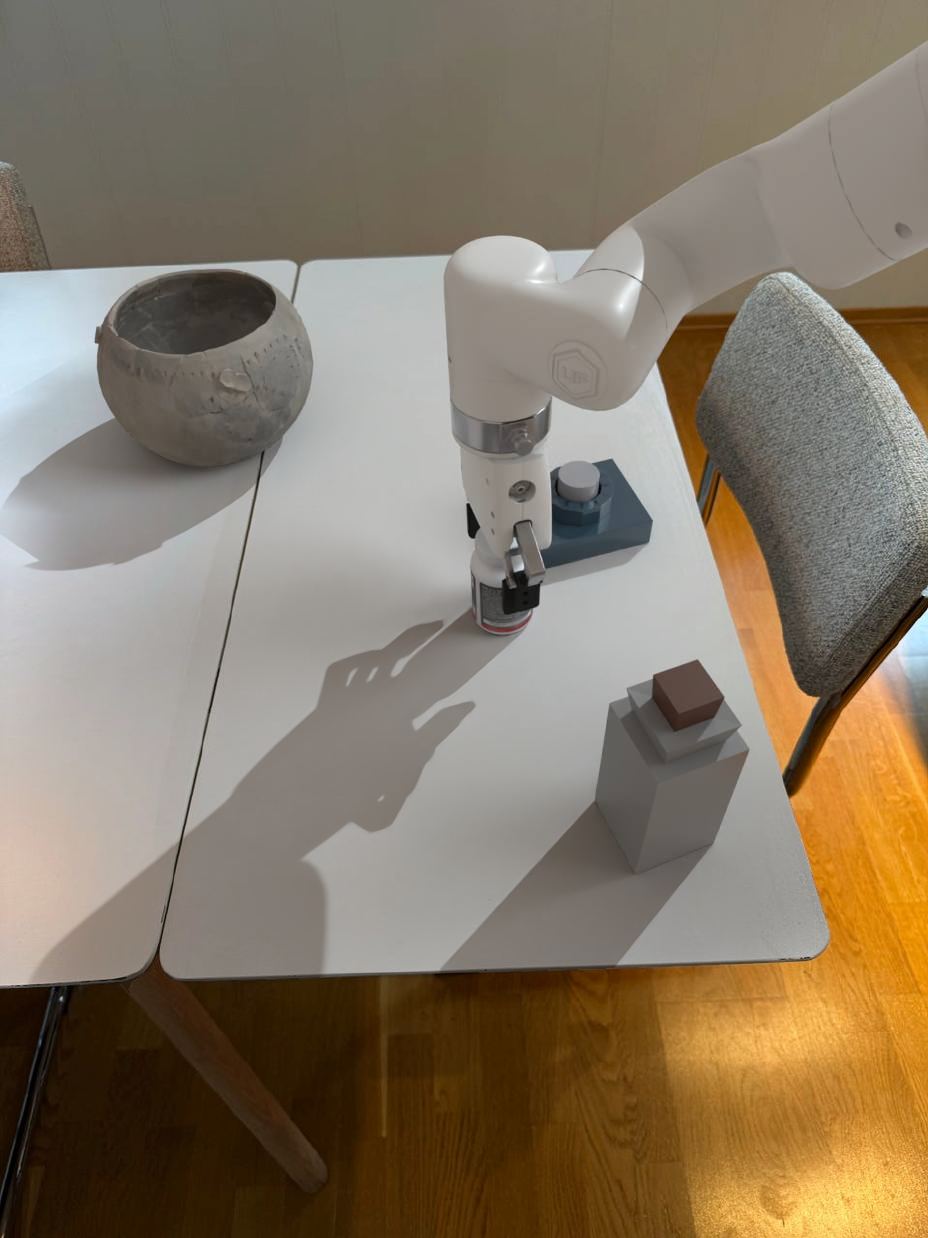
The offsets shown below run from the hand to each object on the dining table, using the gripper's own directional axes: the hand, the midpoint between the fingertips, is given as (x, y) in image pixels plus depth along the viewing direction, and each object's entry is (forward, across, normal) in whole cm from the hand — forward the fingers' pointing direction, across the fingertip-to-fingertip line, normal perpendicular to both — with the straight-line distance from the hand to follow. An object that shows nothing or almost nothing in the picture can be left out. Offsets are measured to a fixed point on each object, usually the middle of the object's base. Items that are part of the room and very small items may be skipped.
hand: (502, 569), depth 80 cm
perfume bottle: (+6, -24, -4) cm, 25 cm away
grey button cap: (+1, +9, -11) cm, 14 cm away
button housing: (+6, +9, -11) cm, 15 cm away
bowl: (+6, +38, +21) cm, 44 cm away
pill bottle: (+6, 0, 0) cm, 6 cm away
